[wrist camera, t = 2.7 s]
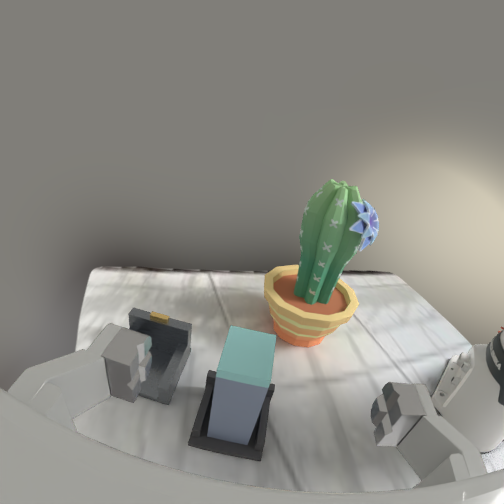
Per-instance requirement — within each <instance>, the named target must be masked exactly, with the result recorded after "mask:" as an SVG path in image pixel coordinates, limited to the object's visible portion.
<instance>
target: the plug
mask: <svg viewBox="0 0 504 504" xmlns="http://www.w3.org/2000/svg"><path fill="white" fill-rule="evenodd" d="M275 343H276V335H273V334H268V333H264V332H259V331H254V330H250V329H245V328H241V327H236V326H232V325H231V326H230V329H229V332H228V336H227V339H226V342H225V345H224V349H223V352H222V355H221V358H220V361H219V365H218V368H217V373H216V380H215V386H214V393H213V400H212V407H211V413H210V420H209V427H208V434H207V436H208V437H212V438H216V439H220V440H225V441H229V442H234V443H239V444H244V445H248V442H249V440H250V437H251V434H252V432H253V429H254V426H255V424H256V421H257V418H258V416H259V413H260V410H261V407H262V405H263V402H264V399H265V396H266V394H267V391H268V388H269V385H270V382H271V376H272V368H273V360H274V352H275Z"/></svg>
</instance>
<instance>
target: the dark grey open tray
mask: <svg viewBox="0 0 504 504" xmlns="http://www.w3.org/2000/svg"><path fill="white" fill-rule="evenodd" d="M216 373H217V372H215V371H211V370H209V372H208V374H207V380H206V389H205V392H204V395H203V398H202V401H201V404H200V408H199V411H198V414H197V417H196V420H195V423H194V426H193V429H192V433H191V436H190V439H189V442H188V445H190V446H193V447H197V448H201V449H205V450H209V451H213V452H217V453H222V454H226V455H231V456H236V457H241V458H246V459H252V460H257V461H261V458H262V451H263V446H264V442H265V435H266V427H267V420H268V412H269V404H270V400H271V398H272V395H273V393H274V388H275V384H270V385H269V388H268V391H267V394H266V396H265V399H264V402H263V405H262V407H261V410H260V413H259V416H258V418H257V421H256V424H255V426H254V429H253V432H252V434H251V437H250V440H249V442H248V445H244V444H239V443H234V442H229V441H225V440H220V439H216V438H212V437H208V436H207V434H208V427H209V420H210V413H211V407H212V400H213V393H214V386H215V380H216Z"/></svg>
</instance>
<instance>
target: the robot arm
mask: <svg viewBox="0 0 504 504" xmlns="http://www.w3.org/2000/svg"><path fill="white" fill-rule="evenodd" d="M501 328H502V329H503V331H498V334H497V336H495V337H494V338H493V339H492V341H491V342H490V343H489V344H477V345H474V346H472V348H471V349H470V350H469V352H468V353H467V354H465V353H461V354H460V355H454V356H452V358H451V359H450V361H449V363H448V365H447V367H446V369H445V372H444V374H443V376H442V378H441V380H440V382H439V384H438V386H437V388H436V390H435V392H434V394H433V396H432V398H431V397H430V395H429V392H428V390H427V387H426V386H425V385H424V384H409V383H394V382H388V383H387V384H385V386H384V387H383V389H382V391H383V394H382V395H381V396H379V397H377V398H376V400H375V401H374V403H373V405H372V409H371V420H372V423H373V424H374V425H375V426H376V429H375V430H374V435H375V441H376V446H397V447H396V448H397V449H398V450H399V452H400V453H401V454H402V456H403V457H404V458H405V460H406V461H407V462H408V464H409V465H410V466H411V467H412V469H413V470H414V471H415V473H416V474H417V475H418V477H419V478H420V479H421V482H419V483H418V484H417V485H416V486H414V487H413V488H412V489H404V490H393V491H381V492H359V493H326V492H305V491H291V490H281V489H272V488H264V487H256V486H250V485H243V484H238V483H232V482H227V481H222V480H217V479H212V478H208V477H203V476H199V475H195V474H191V473H187V472H183V471H180V470H176V469H173V468H169V467H166V466H163V465H159V464H156V463H153V462H150V461H147V460H144V459H141V458H138V457H136V456H133V455H130V454H127V453H125V452H122V451H119V450H117V449H114V448H112V447H109V446H107V445H105V444H102V443H100V442H98V441H95V440H93V439H91V438H89V437H86V436H84V435H82V434H80V433H78V432H77V429H76V427H75V425H74V422H73V420H72V419H73V418H75V417H76V416H78V415H80V414H82V413H83V412H85V411H87V410H89V409H90V408H92V407H94V406H96V405H97V404H99V403H101V402H102V401H104V400H106V399H108V398H109V397H111V395H112V396H115V397H117V398H120V399H123V400H126V401H129V402H132V403H134V402H135V400H136V398H137V396H138V394H139V392H140V390H141V382H143V381H145V380H146V379H147V377H148V374H149V371H150V368H151V363H152V355H151V353H150V352H149V349H150V347H151V346H152V342H151V337H150V336H148V335H145V334H142V333H139V332H136V331H133V330H130V329H127V328H124V327H120V326H118V325H115V324H112V323H110V324H108V325H107V326H106V327H105V328H104V329H103V330H102V332H101V333H100V334H99V335H98V337H97V338H96V339H95V340H94V342H93V343H92V344H91V345H90V347H89V348H88V349H87V350H83V349H82V350H79V351H76V352H74V353H71V354H68V355H65V356H62V357H59V358H57V359H54V360H51V361H48V362H45V363H42V364H39V365H37V366H33V367H30V368H27V369H26V370H25V371H24V372H23V373H22V374H21V376H20V377H19V378H18V379H17V380H16V381H15V383H14V384H13V385H12V386H11V387H10V388H9V390H8V391H7V392H6V391H5V390H3V389H2V388H0V504H504V469H501V470H498V471H494V472H491V473H487V470H486V467H485V465H484V462H483V459H482V456H481V454H480V452H489V451H492V450H494V449H495V448H497V447H498V446H499V444H500V443H501V442H502V441H503V440H504V328H503V327H501ZM434 406H435V407H434ZM435 408H436V409H437V410H438V411H439V412H440V413H441V415H442V416H438V415H437V413H436V410H435Z"/></svg>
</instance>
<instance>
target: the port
mask: <svg viewBox="0 0 504 504" xmlns="http://www.w3.org/2000/svg"><path fill="white" fill-rule="evenodd" d="M129 325H130V328H129V329H130V330H133V331H136V332H139V333H142V334H145V335H148V336H150V337H151V342H152V346H151V347H150V349H149V352H150V353H151V355H152V363H151V368H150V371H149V374H148V377H147V379H146V380H145V381H143V382H141V390H140V392H139V394H138V395H140V396H143V397H145V398H148V399H151V400H154V401H158V402H161V403H164V404H167V405H168V404H169V402H170V400H171V397H172V395H173V392H174V390H175V388H176V385H177V383H178V380H179V378H180V376H181V373H182V371H183V369H184V366H185V364H186V361H187V359H188V357H189V354H190V352H191V348H190V343H191V329H192V324H190V323H186V322H182V321H179V320H175V319H171V318H169V316H167V315H163V314H160V313H156V312H152V313H150V312H147V311H143V310H140V309H136V308H133V309H132V310H131V311H130V313H129Z"/></svg>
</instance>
